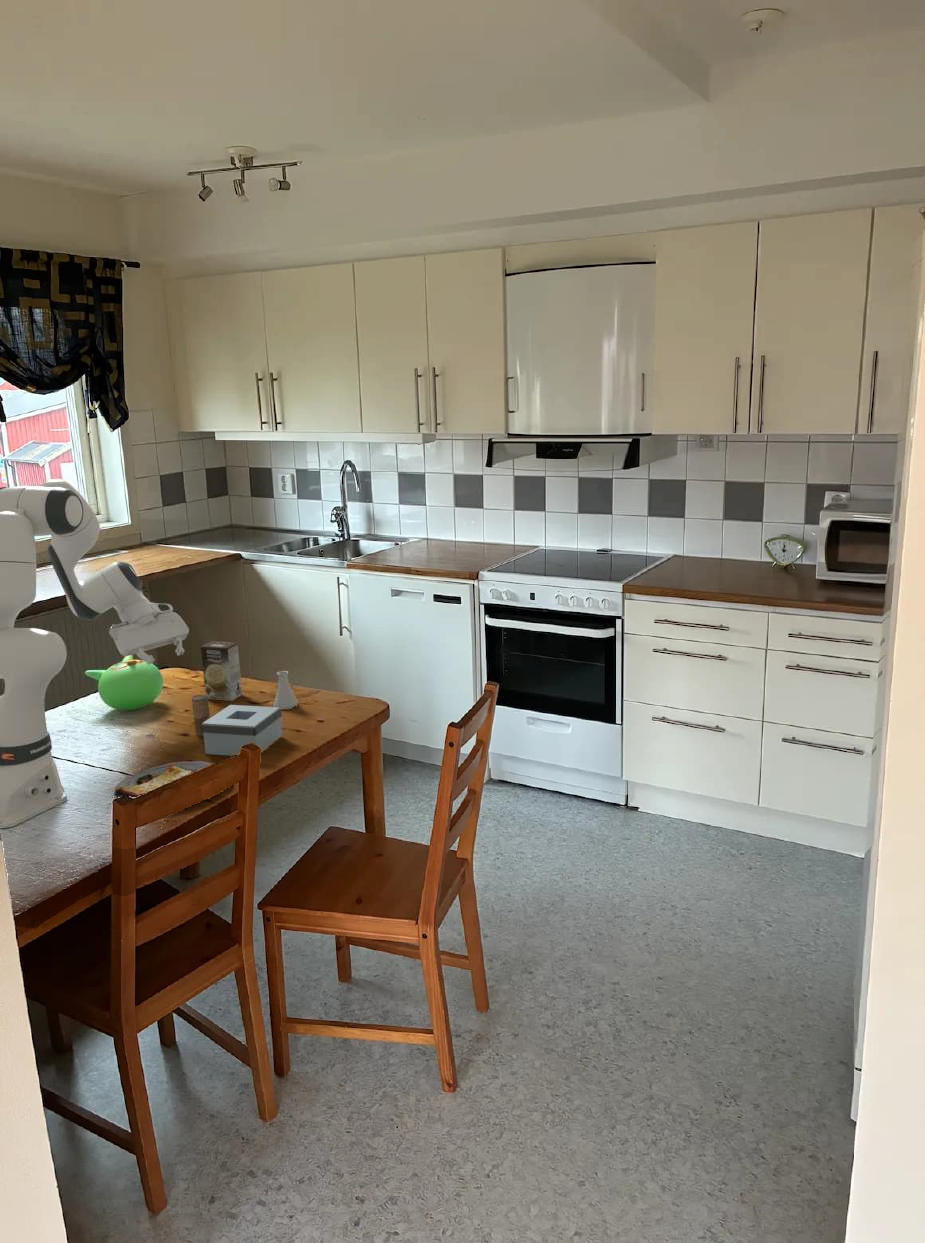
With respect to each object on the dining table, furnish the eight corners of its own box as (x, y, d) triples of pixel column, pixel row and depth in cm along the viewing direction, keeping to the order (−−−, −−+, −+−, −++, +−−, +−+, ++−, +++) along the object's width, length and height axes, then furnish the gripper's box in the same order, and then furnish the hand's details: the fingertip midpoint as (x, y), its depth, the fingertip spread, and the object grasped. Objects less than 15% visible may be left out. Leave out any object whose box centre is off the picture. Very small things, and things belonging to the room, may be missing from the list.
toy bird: (126, 721, 258) (119, 670, 255) (86, 712, 267) (80, 662, 264) (177, 702, 273) (171, 653, 270) (138, 694, 282) (132, 647, 279)
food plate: (168, 821, 196) (166, 805, 195) (92, 802, 207) (90, 787, 206) (250, 780, 217) (249, 766, 216) (178, 765, 228) (176, 751, 228)
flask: (292, 711, 262) (290, 676, 260) (268, 710, 264) (265, 675, 261) (302, 702, 269) (299, 669, 267) (278, 701, 270) (275, 668, 268)
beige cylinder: (206, 736, 245) (202, 700, 242) (192, 735, 246) (188, 699, 243) (214, 731, 248) (210, 695, 246) (200, 730, 249) (196, 694, 247)
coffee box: (204, 699, 275) (198, 646, 271) (216, 692, 281) (211, 640, 277) (232, 701, 272) (226, 647, 268) (243, 694, 278) (238, 642, 274)
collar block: (257, 757, 229) (254, 726, 227) (204, 754, 233) (200, 723, 231) (283, 736, 242) (281, 707, 240) (232, 733, 246) (229, 704, 244)
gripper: (109, 619, 244) (136, 661, 240) (175, 603, 259) (202, 642, 256) (102, 634, 247) (128, 675, 244) (167, 616, 263) (193, 655, 260)
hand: (166, 658), depth 250 cm, fingers open, 8 cm apart
